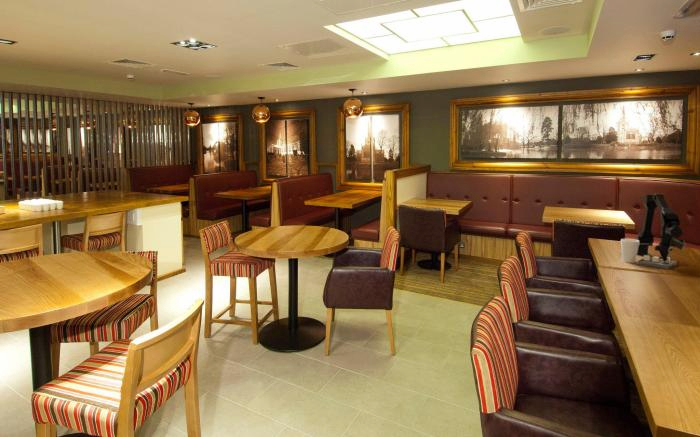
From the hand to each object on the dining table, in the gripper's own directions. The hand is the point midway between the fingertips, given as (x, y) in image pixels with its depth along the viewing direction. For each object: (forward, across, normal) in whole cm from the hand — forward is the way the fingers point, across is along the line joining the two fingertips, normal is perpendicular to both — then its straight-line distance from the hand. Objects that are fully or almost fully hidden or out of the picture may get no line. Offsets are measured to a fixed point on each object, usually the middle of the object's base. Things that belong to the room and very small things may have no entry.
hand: (664, 261), depth 246 cm
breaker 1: (+1, 0, +9) cm, 9 cm away
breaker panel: (+3, +3, +4) cm, 6 cm away
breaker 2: (+1, +3, 0) cm, 3 cm away
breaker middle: (+1, 0, +4) cm, 4 cm away
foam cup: (+4, -1, +18) cm, 18 cm away
